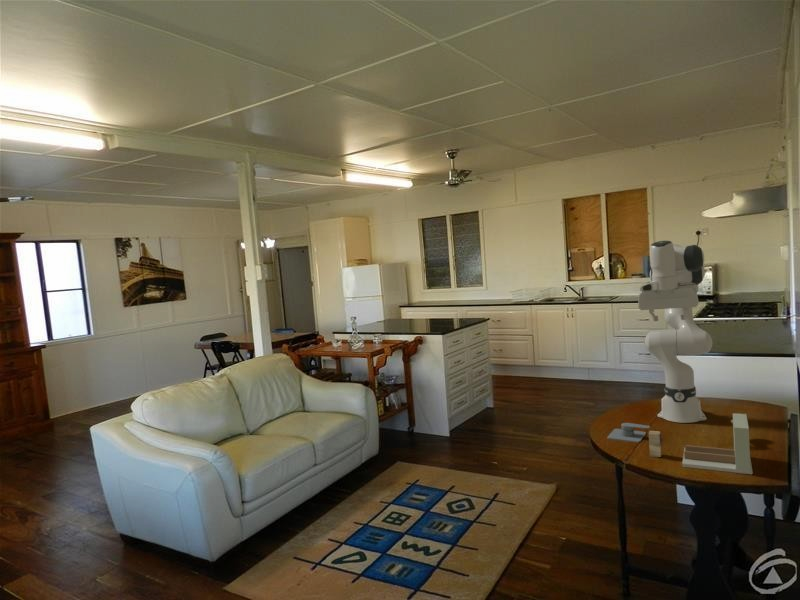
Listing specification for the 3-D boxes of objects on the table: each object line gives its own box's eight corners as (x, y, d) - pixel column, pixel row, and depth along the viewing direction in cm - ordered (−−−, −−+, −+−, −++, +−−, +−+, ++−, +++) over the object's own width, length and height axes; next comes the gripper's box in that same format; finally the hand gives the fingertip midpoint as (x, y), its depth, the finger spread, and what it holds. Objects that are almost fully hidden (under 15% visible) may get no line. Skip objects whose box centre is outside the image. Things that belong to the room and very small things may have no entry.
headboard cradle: (684, 450, 192) (682, 410, 191) (749, 456, 182) (747, 414, 181) (682, 466, 179) (680, 423, 178) (752, 474, 168) (750, 428, 167)
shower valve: (645, 431, 202) (605, 426, 211) (646, 445, 202) (606, 439, 211) (652, 421, 211) (614, 417, 220) (653, 435, 212) (615, 430, 221)
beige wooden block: (650, 453, 193) (649, 430, 192) (662, 454, 191) (661, 431, 190) (649, 456, 190) (648, 433, 189) (661, 457, 188) (660, 434, 187)
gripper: (698, 280, 193) (701, 317, 193) (638, 285, 205) (642, 320, 205) (696, 282, 188) (700, 320, 188) (635, 287, 199) (639, 323, 200)
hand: (669, 320), depth 197 cm, fingers open, 8 cm apart
